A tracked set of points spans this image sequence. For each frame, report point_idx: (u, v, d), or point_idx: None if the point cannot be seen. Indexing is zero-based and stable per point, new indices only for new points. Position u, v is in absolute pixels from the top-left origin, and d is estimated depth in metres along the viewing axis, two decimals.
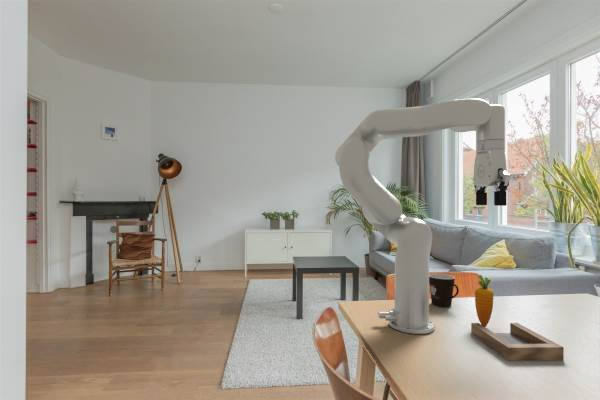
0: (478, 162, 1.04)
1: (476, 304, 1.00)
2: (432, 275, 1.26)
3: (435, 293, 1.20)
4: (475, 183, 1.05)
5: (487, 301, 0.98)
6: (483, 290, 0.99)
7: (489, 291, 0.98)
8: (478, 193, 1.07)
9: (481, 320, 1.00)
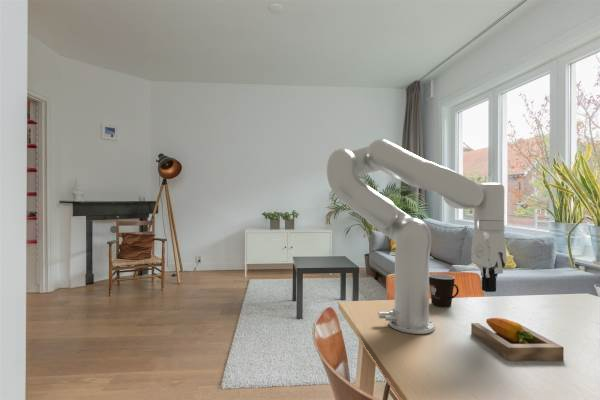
0: (476, 240, 0.99)
1: (497, 327, 0.92)
2: (432, 275, 1.26)
3: (435, 293, 1.20)
4: (473, 261, 1.01)
5: None
6: (514, 339, 0.88)
7: (518, 341, 0.88)
8: None
9: (488, 324, 0.97)
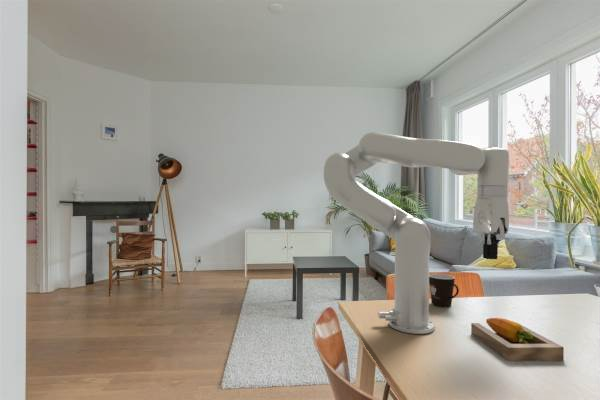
0: (479, 207, 0.98)
1: (497, 327, 0.92)
2: (432, 275, 1.26)
3: (435, 293, 1.20)
4: (475, 229, 1.00)
5: None
6: (514, 339, 0.88)
7: (518, 341, 0.88)
8: None
9: (488, 324, 0.97)
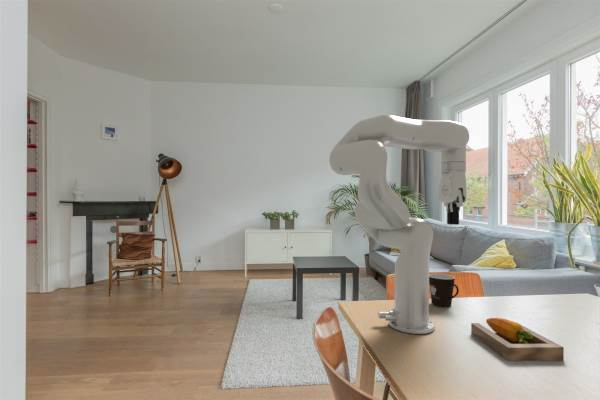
0: (442, 181, 1.15)
1: (497, 327, 0.92)
2: (432, 275, 1.26)
3: (435, 293, 1.20)
4: (440, 200, 1.16)
5: None
6: (514, 339, 0.88)
7: (518, 341, 0.88)
8: None
9: (488, 324, 0.97)
